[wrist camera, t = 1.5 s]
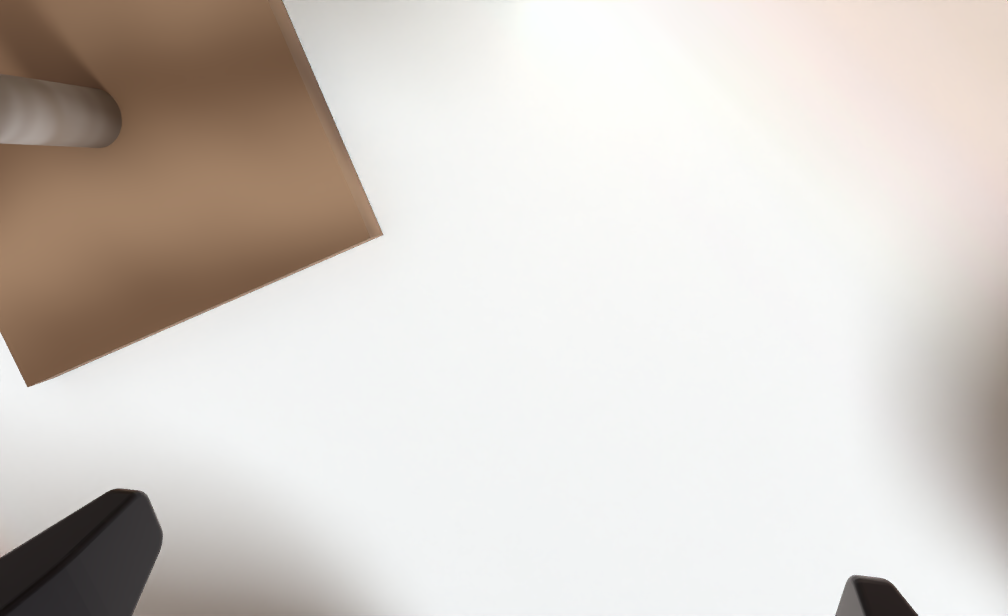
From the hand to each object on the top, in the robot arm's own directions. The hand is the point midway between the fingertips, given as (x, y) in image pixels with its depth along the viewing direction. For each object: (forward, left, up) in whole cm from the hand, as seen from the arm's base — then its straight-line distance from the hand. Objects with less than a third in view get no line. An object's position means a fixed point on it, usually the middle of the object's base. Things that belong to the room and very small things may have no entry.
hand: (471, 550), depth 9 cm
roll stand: (-5, +13, -11) cm, 18 cm away
